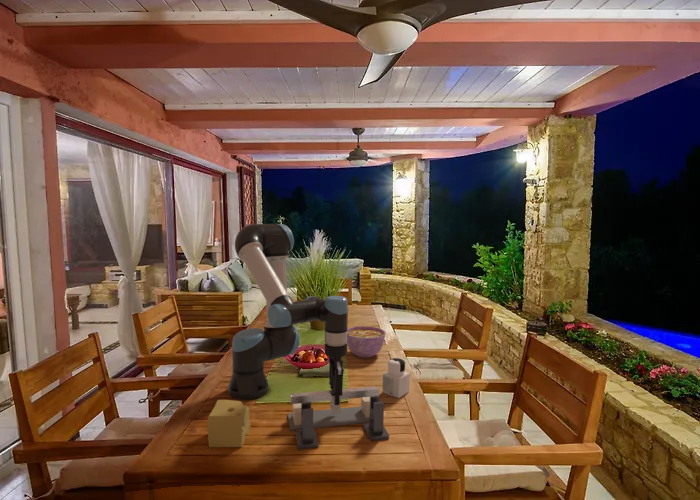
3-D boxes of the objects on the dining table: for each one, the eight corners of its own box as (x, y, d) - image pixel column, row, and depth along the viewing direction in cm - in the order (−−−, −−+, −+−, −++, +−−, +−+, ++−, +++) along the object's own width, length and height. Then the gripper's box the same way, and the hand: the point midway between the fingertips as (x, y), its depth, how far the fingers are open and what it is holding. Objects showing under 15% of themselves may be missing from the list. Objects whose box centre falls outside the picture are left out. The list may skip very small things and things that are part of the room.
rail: (291, 404, 128) (291, 397, 128) (290, 400, 131) (290, 393, 131) (379, 395, 135) (379, 389, 135) (377, 392, 138) (377, 386, 137)
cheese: (250, 429, 126) (250, 399, 125) (242, 449, 115) (242, 416, 115) (217, 429, 126) (217, 399, 125) (206, 449, 115) (205, 416, 114)
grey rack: (298, 449, 116) (298, 413, 115) (295, 434, 123) (295, 400, 122) (389, 438, 122) (390, 404, 121) (381, 425, 130) (382, 393, 129)
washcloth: (300, 366, 179) (301, 359, 179) (339, 366, 181) (339, 359, 180) (298, 378, 166) (299, 370, 166) (340, 378, 168) (340, 370, 167)
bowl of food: (390, 351, 199) (391, 329, 198) (376, 365, 181) (377, 340, 180) (354, 345, 208) (354, 324, 207) (337, 357, 190) (337, 334, 189)
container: (392, 386, 159) (393, 355, 158) (409, 391, 155) (410, 359, 153) (381, 392, 153) (382, 360, 152) (398, 398, 149) (399, 365, 147)
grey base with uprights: (290, 430, 125) (290, 415, 125) (287, 415, 135) (287, 401, 135) (383, 420, 132) (383, 406, 132) (374, 406, 142) (374, 393, 142)
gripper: (352, 349, 125) (351, 421, 127) (342, 335, 140) (341, 399, 142) (329, 351, 123) (328, 423, 125) (321, 336, 138) (320, 401, 140)
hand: (335, 410), depth 133 cm, fingers closed on rail, 2 cm apart
